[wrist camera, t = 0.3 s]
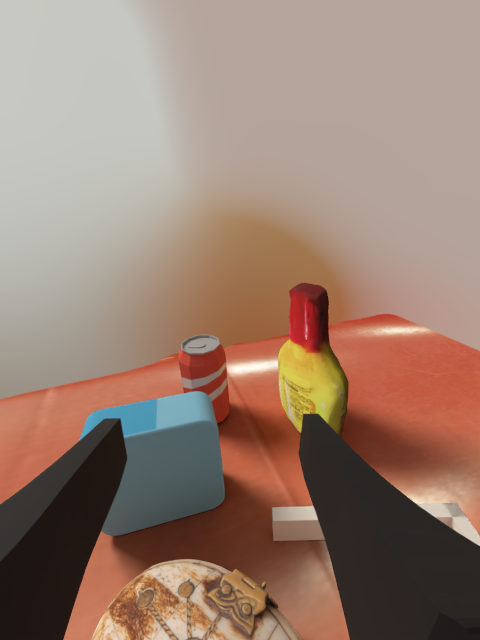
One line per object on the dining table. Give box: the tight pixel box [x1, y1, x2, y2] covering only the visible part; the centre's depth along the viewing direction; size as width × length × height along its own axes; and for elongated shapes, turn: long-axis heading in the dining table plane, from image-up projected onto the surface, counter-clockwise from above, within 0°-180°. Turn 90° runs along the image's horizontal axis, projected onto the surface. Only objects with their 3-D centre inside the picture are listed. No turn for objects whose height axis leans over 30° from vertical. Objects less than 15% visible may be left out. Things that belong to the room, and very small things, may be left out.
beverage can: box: [179, 335, 230, 423], centre depth 40 cm, size 6×6×12 cm
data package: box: [79, 391, 225, 536], centre depth 28 cm, size 12×4×12 cm, turn 104°
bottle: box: [278, 283, 348, 436], centre depth 36 cm, size 12×6×20 cm, turn 21°
